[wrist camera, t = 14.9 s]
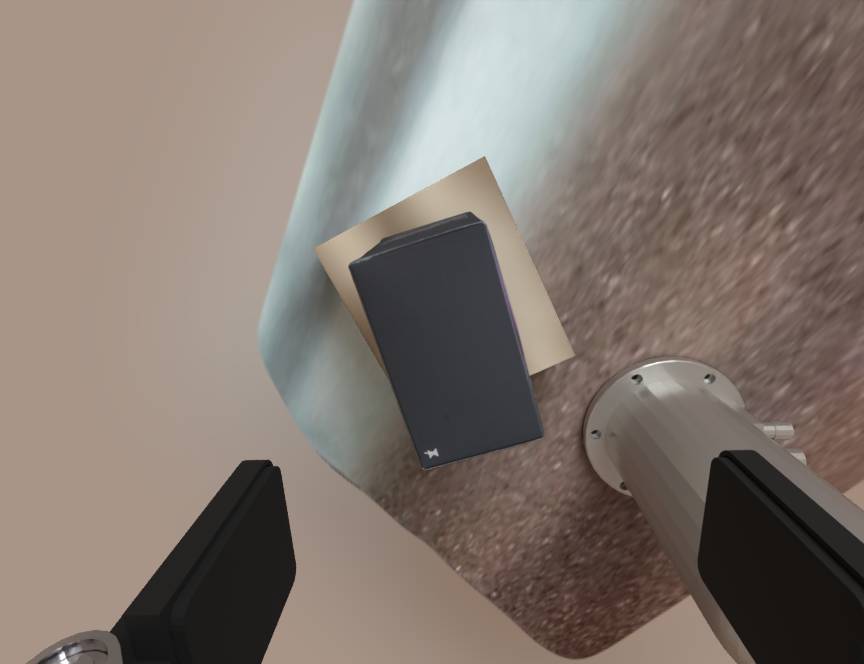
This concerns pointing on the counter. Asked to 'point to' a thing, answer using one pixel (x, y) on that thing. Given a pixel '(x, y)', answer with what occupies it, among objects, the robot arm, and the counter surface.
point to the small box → (449, 340)
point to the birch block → (486, 201)
